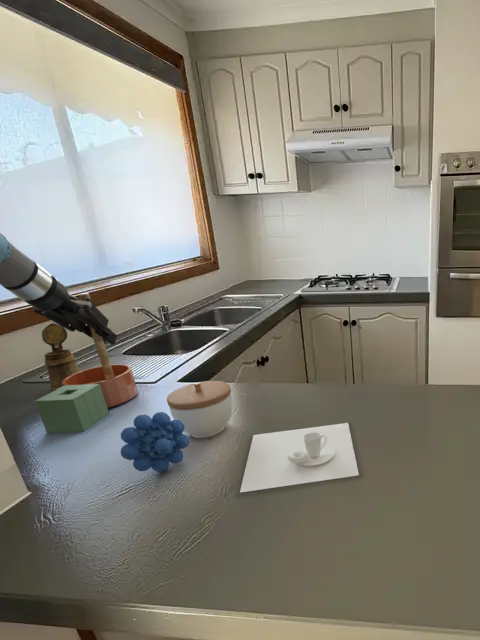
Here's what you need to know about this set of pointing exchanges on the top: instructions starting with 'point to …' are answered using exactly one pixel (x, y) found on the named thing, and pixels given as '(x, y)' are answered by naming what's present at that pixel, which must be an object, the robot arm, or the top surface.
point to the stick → (100, 347)
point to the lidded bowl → (202, 407)
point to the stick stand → (72, 408)
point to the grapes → (154, 442)
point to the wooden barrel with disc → (58, 356)
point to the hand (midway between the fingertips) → (109, 340)
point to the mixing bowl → (108, 383)
